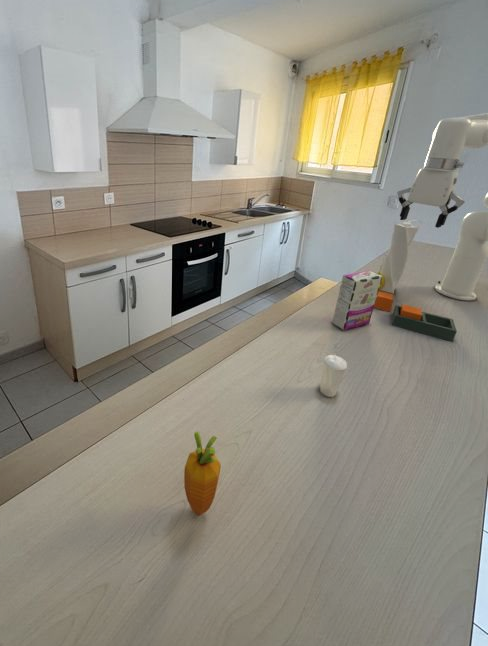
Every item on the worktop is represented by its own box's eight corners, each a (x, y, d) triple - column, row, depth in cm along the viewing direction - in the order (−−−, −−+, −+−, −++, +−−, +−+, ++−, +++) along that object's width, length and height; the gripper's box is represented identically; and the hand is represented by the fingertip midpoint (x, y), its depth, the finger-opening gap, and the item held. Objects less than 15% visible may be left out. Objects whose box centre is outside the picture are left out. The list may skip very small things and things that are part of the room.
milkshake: (337, 385, 74) (347, 349, 70) (339, 401, 69) (350, 364, 66) (316, 380, 75) (325, 344, 72) (316, 396, 71) (326, 359, 67)
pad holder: (392, 314, 107) (395, 305, 105) (448, 328, 100) (453, 319, 98) (392, 325, 100) (395, 315, 99) (452, 341, 93) (456, 331, 92)
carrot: (180, 496, 50) (184, 425, 44) (212, 495, 50) (220, 424, 44) (182, 533, 45) (187, 459, 39) (217, 530, 46) (227, 457, 40)
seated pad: (398, 316, 105) (402, 304, 103) (416, 321, 102) (421, 308, 100) (398, 323, 101) (402, 310, 99) (417, 328, 98) (422, 315, 96)
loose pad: (373, 301, 115) (377, 290, 113) (389, 305, 112) (393, 294, 110) (372, 307, 111) (376, 295, 109) (389, 311, 108) (393, 299, 106)
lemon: (377, 289, 125) (383, 270, 122) (384, 295, 120) (390, 276, 116) (363, 288, 125) (368, 269, 122) (369, 294, 120) (374, 274, 117)
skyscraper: (398, 289, 126) (422, 218, 115) (398, 296, 119) (423, 222, 108) (374, 283, 130) (395, 214, 119) (372, 290, 123) (394, 218, 112)
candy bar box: (355, 316, 104) (369, 269, 98) (369, 324, 100) (384, 276, 94) (330, 322, 100) (342, 274, 93) (343, 331, 96) (357, 281, 89)
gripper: (481, 168, 89) (457, 228, 95) (412, 162, 101) (395, 216, 108) (473, 168, 84) (448, 231, 91) (402, 162, 97) (385, 218, 104)
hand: (419, 223), depth 99 cm, fingers open, 9 cm apart
